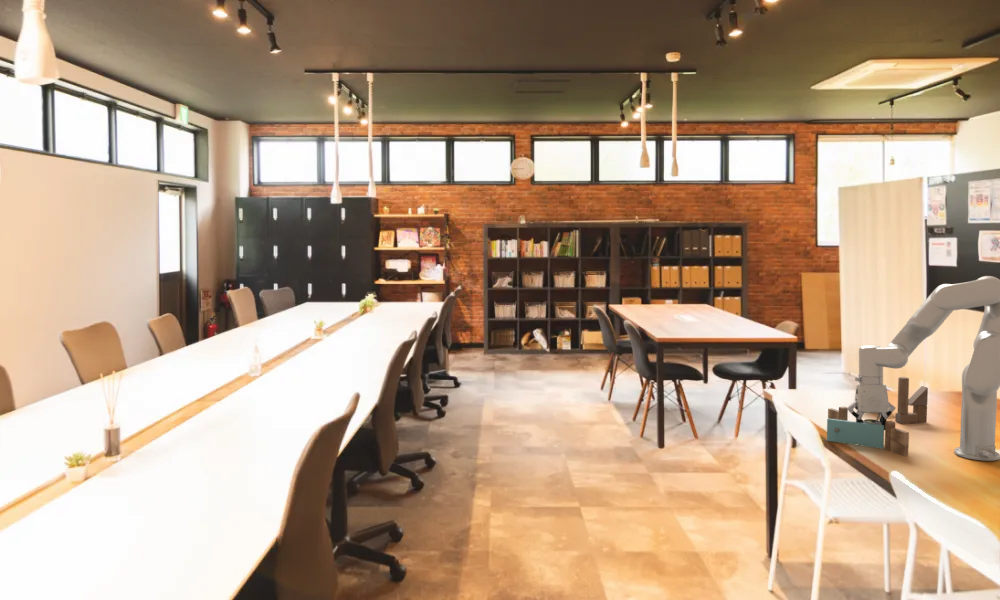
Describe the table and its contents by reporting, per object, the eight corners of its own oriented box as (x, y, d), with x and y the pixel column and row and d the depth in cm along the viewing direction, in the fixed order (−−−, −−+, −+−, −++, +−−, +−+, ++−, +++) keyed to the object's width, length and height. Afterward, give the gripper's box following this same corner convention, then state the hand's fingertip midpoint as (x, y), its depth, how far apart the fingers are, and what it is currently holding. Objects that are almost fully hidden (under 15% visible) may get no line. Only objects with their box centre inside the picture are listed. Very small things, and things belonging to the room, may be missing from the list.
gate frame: (909, 455, 230) (910, 426, 229) (903, 456, 230) (904, 426, 229) (832, 428, 265) (832, 403, 264) (826, 429, 264) (827, 403, 263)
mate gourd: (856, 441, 247) (855, 400, 246) (872, 438, 249) (872, 398, 248) (874, 447, 240) (873, 404, 239) (890, 443, 242) (890, 402, 241)
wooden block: (927, 423, 270) (928, 378, 268) (900, 423, 269) (901, 378, 268) (920, 420, 274) (922, 376, 272) (894, 421, 273) (896, 377, 272)
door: (883, 447, 239) (884, 425, 238) (882, 449, 237) (883, 426, 237) (827, 439, 250) (827, 418, 249) (826, 441, 248) (826, 419, 247)
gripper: (849, 382, 240) (850, 432, 242) (901, 381, 239) (902, 431, 240) (841, 378, 248) (841, 427, 249) (891, 377, 246) (891, 426, 247)
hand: (871, 429), depth 244 cm, fingers closed on mate gourd, 7 cm apart
